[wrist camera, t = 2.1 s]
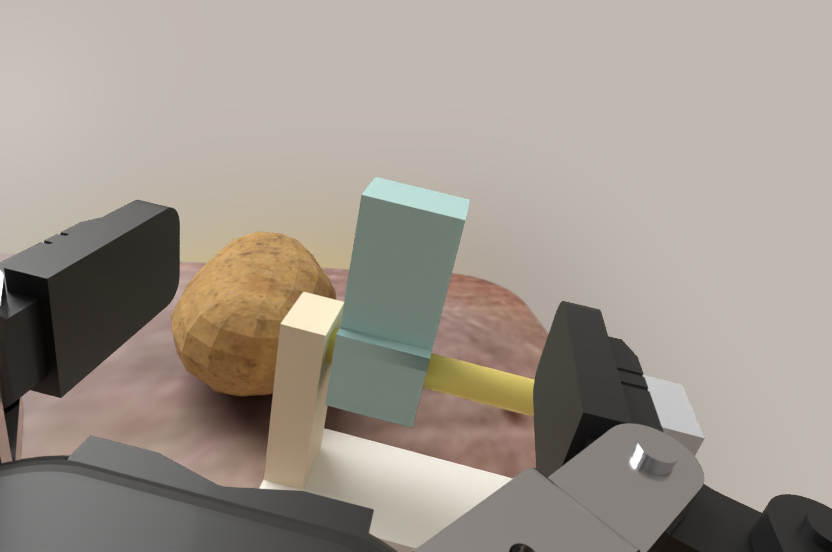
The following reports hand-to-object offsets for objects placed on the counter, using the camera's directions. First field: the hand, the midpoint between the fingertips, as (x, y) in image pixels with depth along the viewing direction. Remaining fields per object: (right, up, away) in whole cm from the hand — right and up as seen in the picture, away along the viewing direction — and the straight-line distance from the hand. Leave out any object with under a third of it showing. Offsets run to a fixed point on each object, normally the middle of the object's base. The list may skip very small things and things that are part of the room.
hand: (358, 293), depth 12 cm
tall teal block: (-1, -5, +15) cm, 16 cm away
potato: (-9, -6, +27) cm, 29 cm away
